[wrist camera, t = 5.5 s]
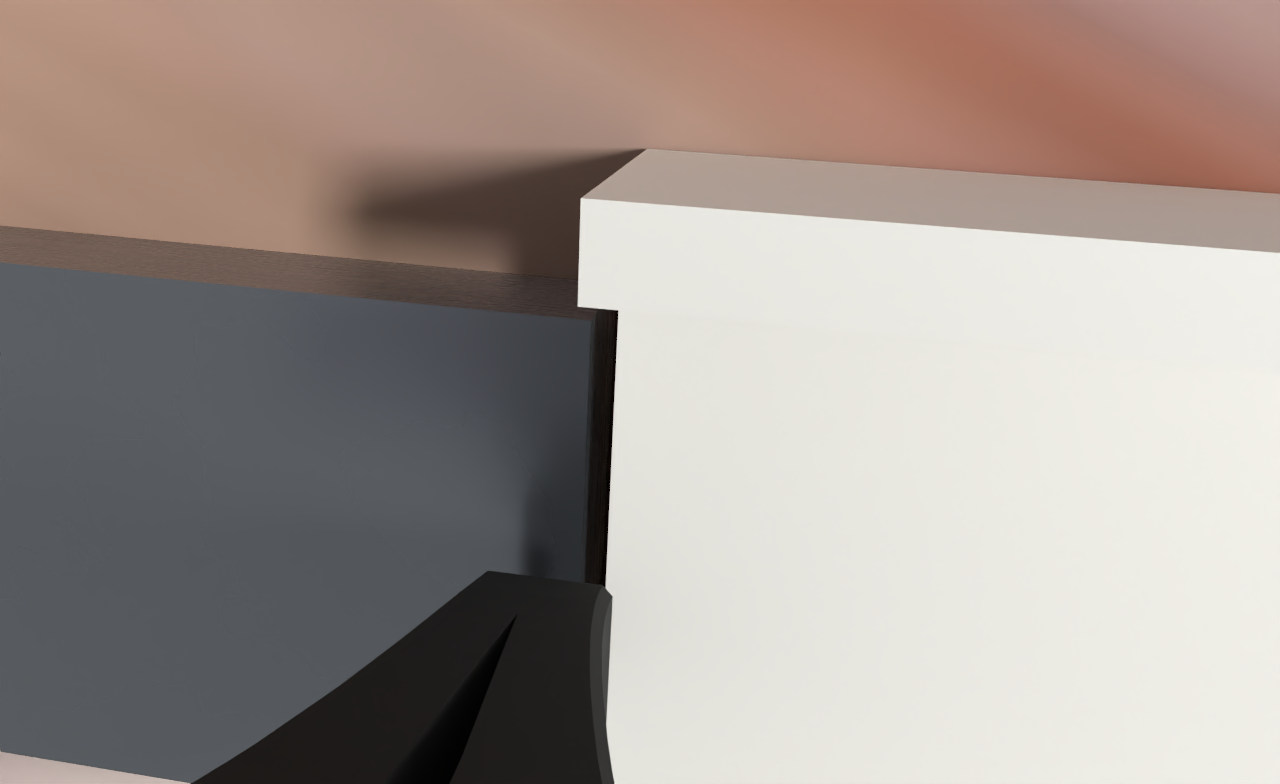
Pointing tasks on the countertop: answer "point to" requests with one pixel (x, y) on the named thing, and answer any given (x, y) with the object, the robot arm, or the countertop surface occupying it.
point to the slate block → (266, 478)
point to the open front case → (938, 475)
